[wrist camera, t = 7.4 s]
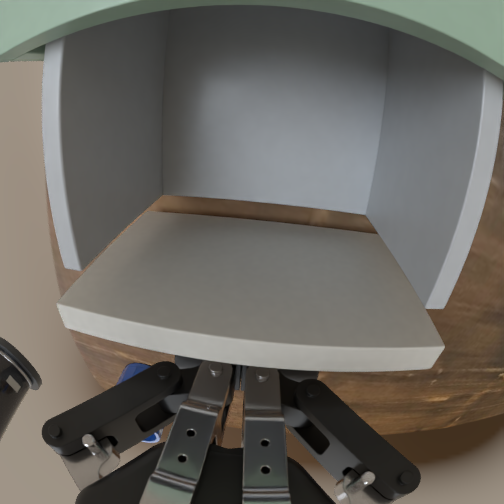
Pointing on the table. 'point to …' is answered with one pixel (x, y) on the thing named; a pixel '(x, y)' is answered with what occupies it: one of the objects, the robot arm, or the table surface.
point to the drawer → (265, 184)
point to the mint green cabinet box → (342, 3)
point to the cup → (128, 373)
